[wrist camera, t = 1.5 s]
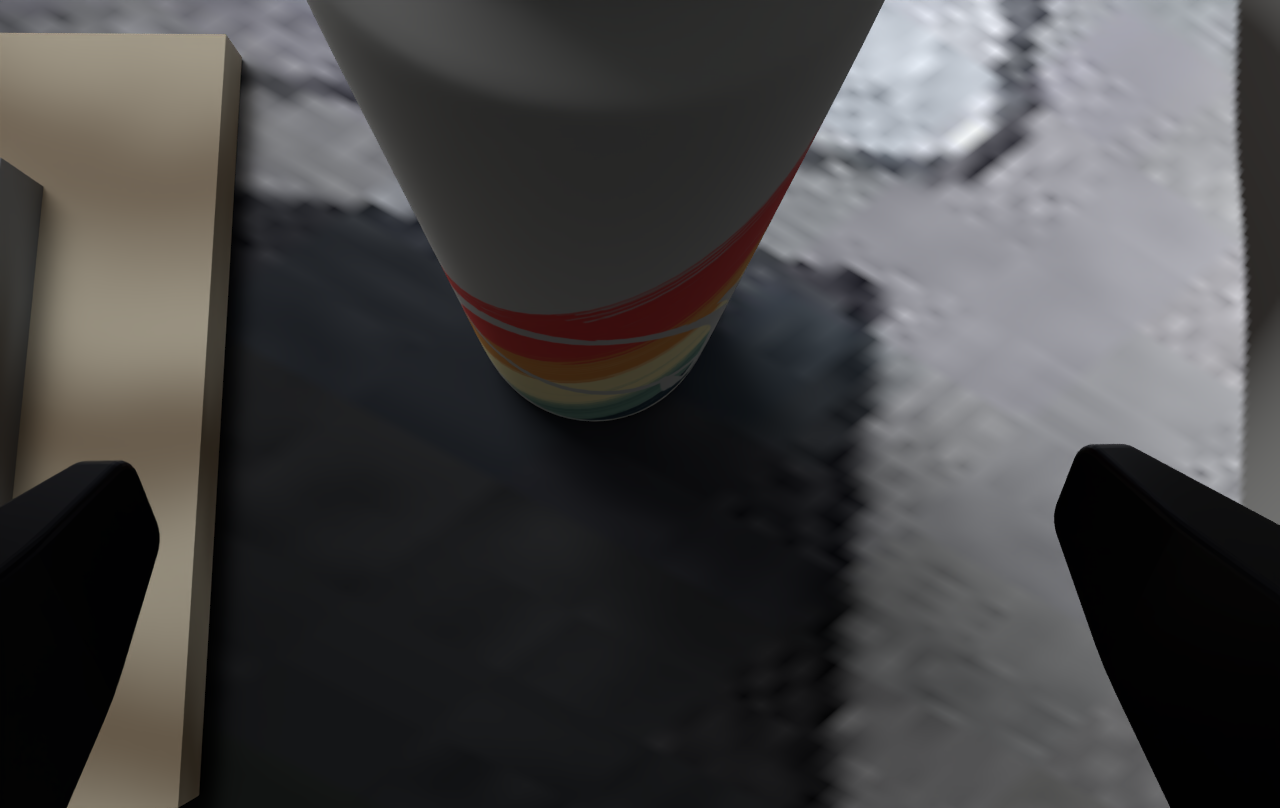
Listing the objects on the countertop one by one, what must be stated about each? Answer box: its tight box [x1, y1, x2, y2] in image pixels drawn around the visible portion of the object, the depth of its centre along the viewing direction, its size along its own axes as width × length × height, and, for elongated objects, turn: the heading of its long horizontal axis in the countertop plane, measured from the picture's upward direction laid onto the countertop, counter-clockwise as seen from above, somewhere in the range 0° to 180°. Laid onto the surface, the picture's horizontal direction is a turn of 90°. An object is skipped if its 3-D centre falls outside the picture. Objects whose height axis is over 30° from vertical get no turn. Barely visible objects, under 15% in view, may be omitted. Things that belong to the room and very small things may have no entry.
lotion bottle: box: [307, 0, 885, 421], centre depth 12 cm, size 6×6×20 cm
